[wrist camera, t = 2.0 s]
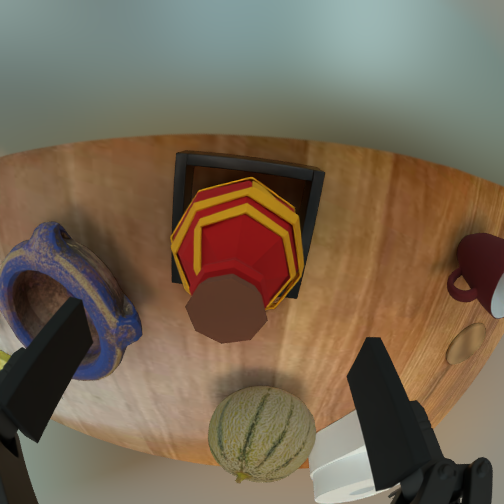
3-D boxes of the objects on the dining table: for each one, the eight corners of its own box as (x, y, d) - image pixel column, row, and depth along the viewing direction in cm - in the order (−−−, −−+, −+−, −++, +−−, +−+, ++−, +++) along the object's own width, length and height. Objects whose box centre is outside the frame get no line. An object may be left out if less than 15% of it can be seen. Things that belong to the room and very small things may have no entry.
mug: (438, 297, 31) (475, 344, 22) (423, 253, 28) (469, 299, 19) (490, 254, 28) (533, 289, 19) (480, 207, 25) (533, 238, 16)
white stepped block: (429, 397, 41) (451, 449, 28) (363, 454, 51) (372, 498, 38) (352, 395, 39) (370, 465, 26) (292, 454, 49) (294, 506, 36)
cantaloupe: (322, 403, 40) (334, 482, 26) (244, 425, 43) (240, 497, 29) (285, 351, 34) (294, 454, 21) (194, 381, 38) (176, 469, 24)
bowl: (176, 308, 32) (152, 370, 23) (95, 349, 36) (69, 396, 27) (84, 185, 26) (25, 214, 17) (22, 259, 30) (-20, 294, 21)
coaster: (480, 313, 32) (482, 315, 32) (487, 337, 35) (488, 339, 34) (440, 349, 35) (442, 351, 34) (452, 368, 37) (453, 371, 37)
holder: (318, 167, 25) (325, 172, 22) (294, 283, 30) (297, 299, 27) (185, 150, 24) (176, 152, 22) (178, 268, 30) (171, 282, 27)
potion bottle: (170, 208, 27) (95, 287, 13) (256, 146, 24) (253, 164, 11) (232, 284, 30) (215, 398, 17) (315, 234, 28) (361, 333, 14)
